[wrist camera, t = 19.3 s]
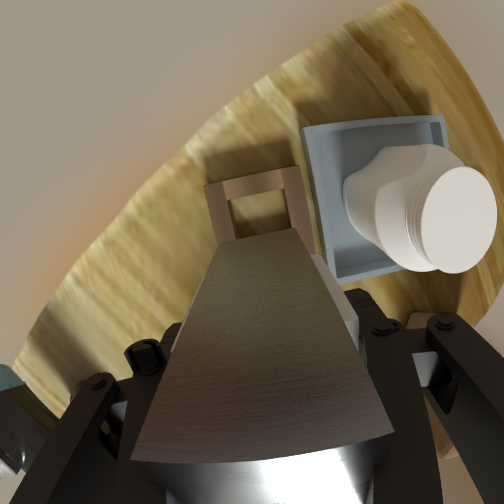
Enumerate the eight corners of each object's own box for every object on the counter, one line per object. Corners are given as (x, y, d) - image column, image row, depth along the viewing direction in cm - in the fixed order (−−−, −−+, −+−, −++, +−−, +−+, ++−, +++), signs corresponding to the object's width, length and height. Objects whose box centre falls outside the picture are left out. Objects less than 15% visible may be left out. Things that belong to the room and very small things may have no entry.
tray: (325, 276, 36) (330, 286, 33) (299, 130, 31) (303, 127, 28) (444, 248, 34) (456, 255, 32) (430, 117, 29) (443, 114, 26)
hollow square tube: (228, 266, 36) (226, 275, 33) (208, 183, 33) (203, 186, 30) (311, 249, 35) (316, 257, 32) (295, 165, 32) (299, 165, 29)
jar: (373, 255, 34) (434, 313, 20) (327, 193, 32) (378, 219, 18) (437, 198, 32) (518, 224, 18) (397, 134, 30) (478, 126, 15)
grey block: (237, 309, 19) (208, 534, 5) (219, 242, 17) (130, 459, 4) (306, 296, 18) (371, 515, 5) (295, 227, 17) (394, 432, 4)
